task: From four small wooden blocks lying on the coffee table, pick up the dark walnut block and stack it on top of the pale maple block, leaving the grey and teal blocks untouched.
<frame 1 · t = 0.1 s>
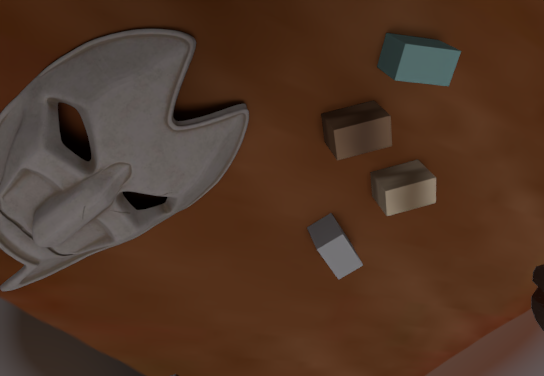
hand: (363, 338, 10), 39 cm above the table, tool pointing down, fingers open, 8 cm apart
mask: (105, 156, 49), on the table
teal block: (407, 53, 49), on the table
grey block: (329, 235, 60), on the table
walnut block: (348, 121, 52), on the table
maple block: (394, 177, 57), on the table
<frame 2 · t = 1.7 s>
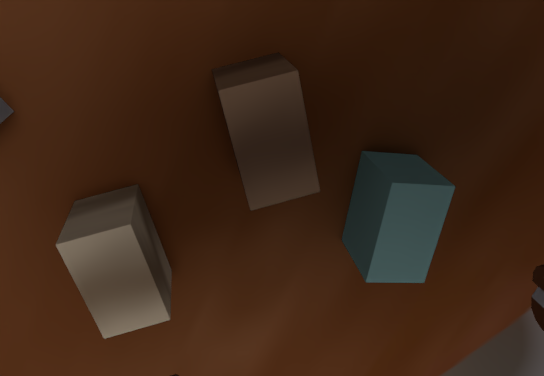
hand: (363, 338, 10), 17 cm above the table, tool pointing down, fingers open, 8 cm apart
teal block: (377, 198, 29), on the table
walnut block: (258, 115, 25), on the table
maple block: (126, 236, 27), on the table
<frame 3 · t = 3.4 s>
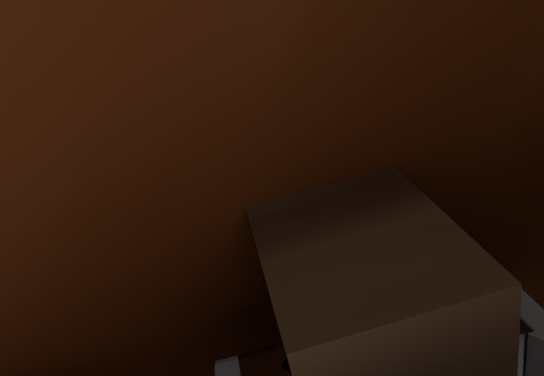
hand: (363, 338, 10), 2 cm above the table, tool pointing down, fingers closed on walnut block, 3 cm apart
walnut block: (338, 287, 12), on the table, touching gripper
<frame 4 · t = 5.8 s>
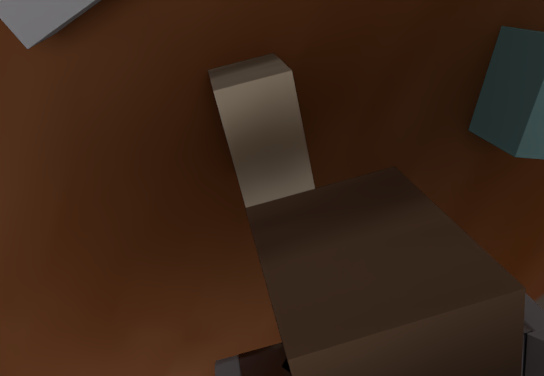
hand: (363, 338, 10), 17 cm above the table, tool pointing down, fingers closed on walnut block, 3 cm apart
teal block: (509, 83, 27), on the table
walnut block: (339, 289, 12), point 15 cm above the table, touching gripper
maple block: (253, 115, 25), on the table
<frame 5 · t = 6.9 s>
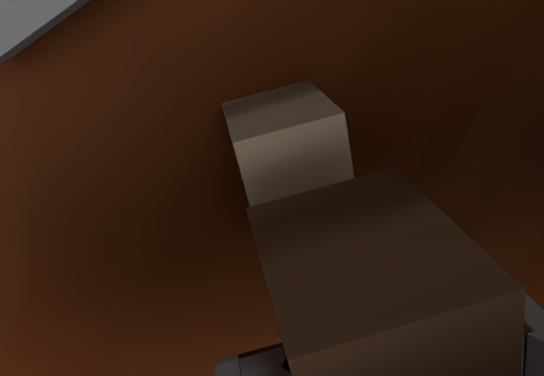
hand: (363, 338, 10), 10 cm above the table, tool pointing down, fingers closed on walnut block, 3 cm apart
walnut block: (339, 290, 12), point 8 cm above the table, touching gripper
maple block: (280, 160, 19), on the table
when the fingers open (7 cm above the table, at t = 7.8 s): walnut block stays where it is, resting on maple block.
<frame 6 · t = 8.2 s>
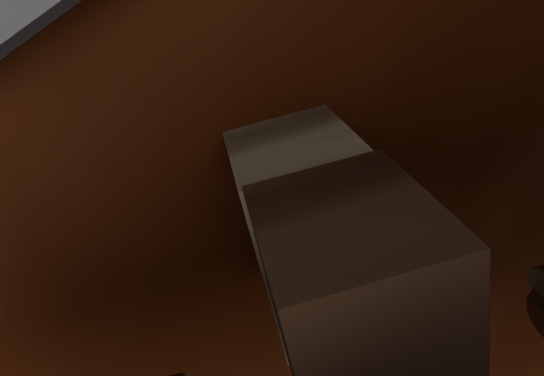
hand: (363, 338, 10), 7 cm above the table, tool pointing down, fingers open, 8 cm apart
walnut block: (330, 266, 13), point 4 cm above the table, touching maple block
maple block: (291, 196, 17), on the table, touching walnut block
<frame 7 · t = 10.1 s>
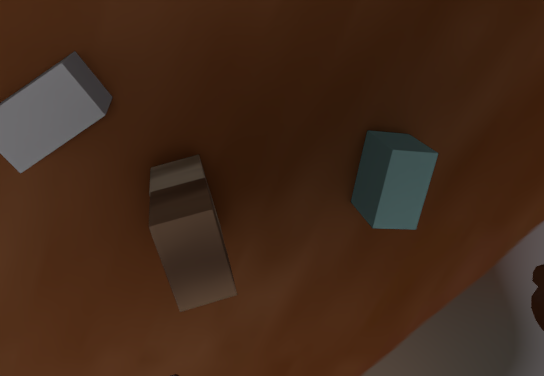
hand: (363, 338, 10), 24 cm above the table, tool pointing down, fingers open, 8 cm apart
teal block: (378, 168, 37), on the table
grey block: (56, 100, 30), on the table
walnut block: (190, 225, 31), point 4 cm above the table, touching maple block
maple block: (186, 197, 35), on the table, touching walnut block
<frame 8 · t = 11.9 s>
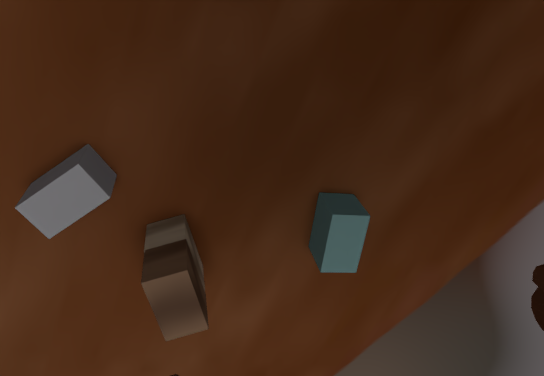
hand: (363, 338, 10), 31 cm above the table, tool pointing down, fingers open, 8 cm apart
teal block: (330, 220, 46), on the table
grey block: (74, 178, 40), on the table
walnut block: (176, 272, 40), point 4 cm above the table, touching maple block
maple block: (175, 245, 44), on the table, touching walnut block
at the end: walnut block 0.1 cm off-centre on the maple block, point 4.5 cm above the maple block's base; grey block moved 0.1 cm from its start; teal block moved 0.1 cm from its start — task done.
